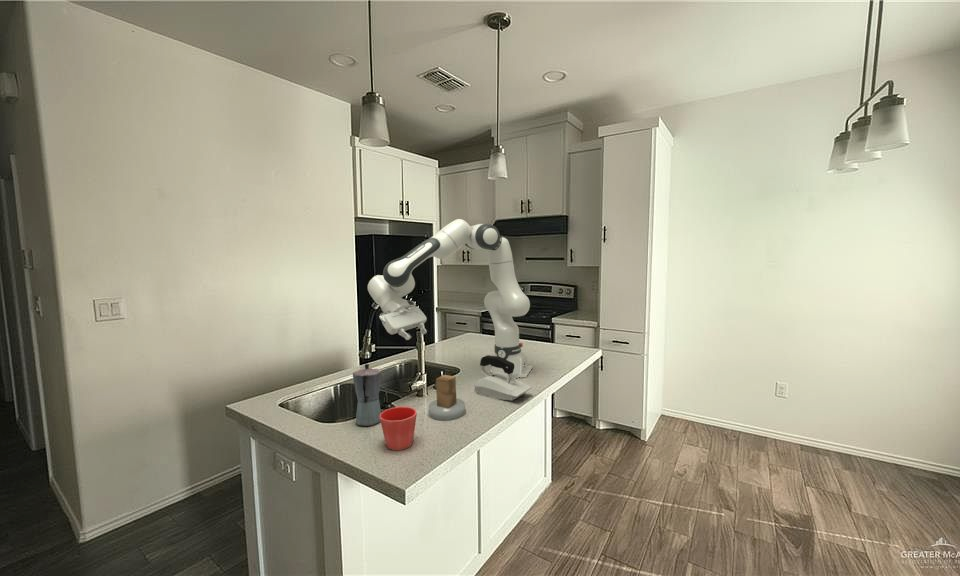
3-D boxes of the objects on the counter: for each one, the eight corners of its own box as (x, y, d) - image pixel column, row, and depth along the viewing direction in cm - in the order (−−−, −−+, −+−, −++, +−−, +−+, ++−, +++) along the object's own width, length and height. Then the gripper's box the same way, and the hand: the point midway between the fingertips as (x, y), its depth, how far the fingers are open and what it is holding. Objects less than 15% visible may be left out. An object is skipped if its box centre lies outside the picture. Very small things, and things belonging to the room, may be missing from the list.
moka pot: (384, 411, 140) (381, 358, 138) (383, 429, 125) (380, 370, 124) (356, 414, 138) (353, 360, 136) (353, 433, 123) (349, 373, 121)
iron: (517, 405, 142) (516, 366, 141) (467, 392, 157) (466, 356, 155) (532, 396, 150) (531, 359, 149) (483, 384, 165) (482, 351, 164)
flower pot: (394, 433, 123) (393, 404, 122) (424, 438, 118) (422, 408, 118) (373, 449, 113) (371, 417, 112) (405, 456, 109) (403, 423, 108)
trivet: (442, 403, 146) (442, 395, 146) (471, 409, 139) (471, 401, 139) (421, 416, 135) (421, 408, 135) (451, 423, 128) (451, 415, 128)
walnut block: (445, 401, 140) (444, 374, 139) (456, 403, 138) (455, 376, 137) (437, 406, 136) (435, 378, 135) (448, 408, 133) (447, 380, 132)
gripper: (381, 308, 140) (403, 336, 136) (416, 300, 157) (437, 325, 153) (373, 319, 142) (394, 347, 138) (408, 311, 160) (428, 335, 156)
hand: (417, 335), depth 146 cm, fingers open, 8 cm apart
